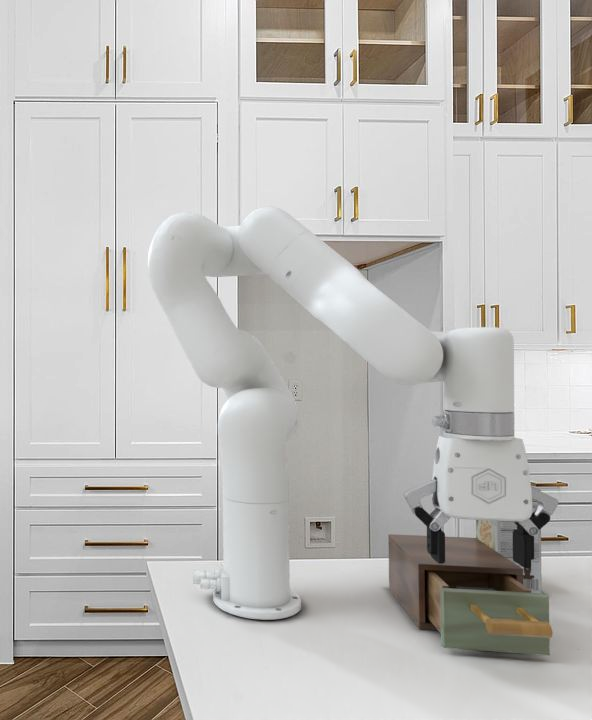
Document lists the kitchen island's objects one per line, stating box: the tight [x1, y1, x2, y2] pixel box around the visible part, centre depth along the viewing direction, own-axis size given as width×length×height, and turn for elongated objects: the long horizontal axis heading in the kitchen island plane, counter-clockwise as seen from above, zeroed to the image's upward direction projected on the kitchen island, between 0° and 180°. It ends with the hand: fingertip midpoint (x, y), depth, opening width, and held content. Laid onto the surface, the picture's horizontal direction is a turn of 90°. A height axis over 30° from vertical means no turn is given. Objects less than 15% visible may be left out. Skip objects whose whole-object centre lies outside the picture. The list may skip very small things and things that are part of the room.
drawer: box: [425, 570, 554, 656], centre depth 75 cm, size 20×11×7 cm, turn 170°
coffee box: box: [475, 485, 543, 593], centre depth 96 cm, size 9×6×16 cm
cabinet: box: [387, 533, 523, 631], centre depth 86 cm, size 15×13×9 cm
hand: (479, 562), depth 75 cm, fingers open, 9 cm apart
